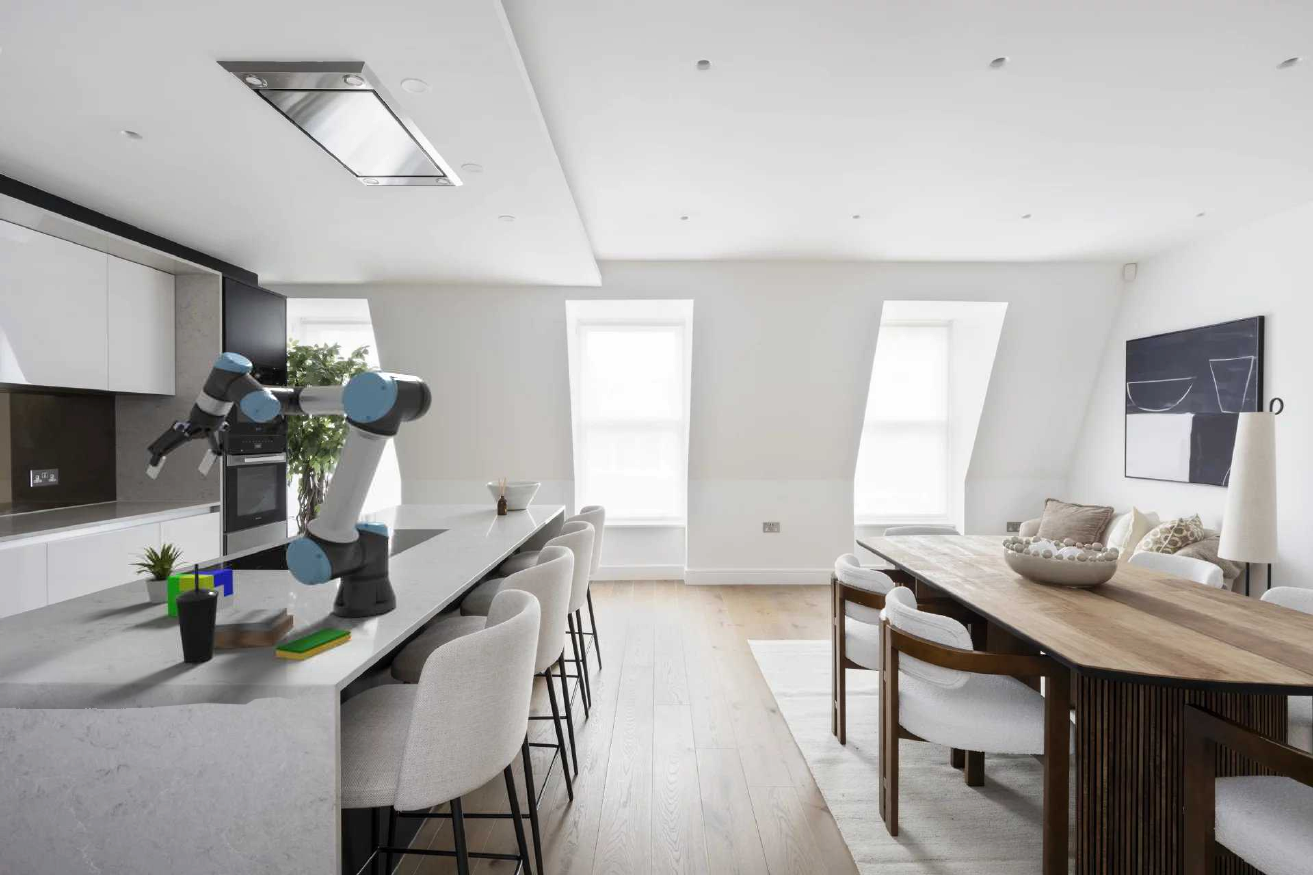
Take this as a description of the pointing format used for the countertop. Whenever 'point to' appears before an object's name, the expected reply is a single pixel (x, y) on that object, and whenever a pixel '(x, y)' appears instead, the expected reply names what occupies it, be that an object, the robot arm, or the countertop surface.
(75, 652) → the countertop surface
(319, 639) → the dish sponge
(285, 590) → the countertop surface
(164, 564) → the house plant
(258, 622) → the two-layer plinth
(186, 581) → the puzzle toy
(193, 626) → the drinking cup
